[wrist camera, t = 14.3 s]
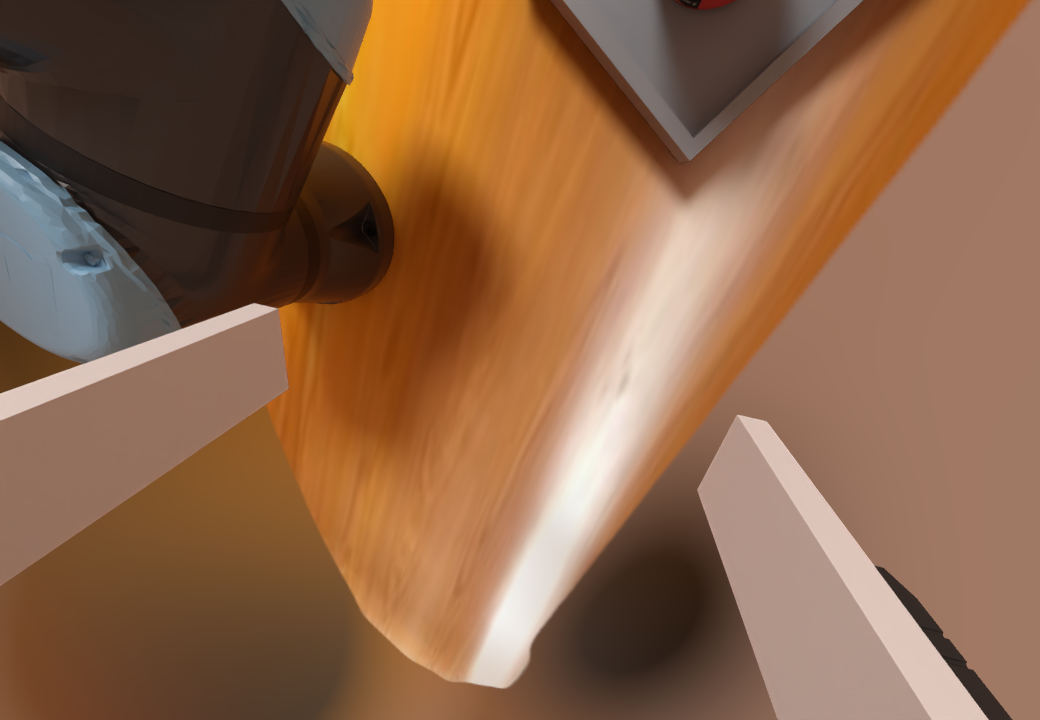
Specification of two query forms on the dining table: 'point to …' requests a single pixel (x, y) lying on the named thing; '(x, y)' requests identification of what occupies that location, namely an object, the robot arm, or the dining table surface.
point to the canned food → (703, 3)
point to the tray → (698, 56)
